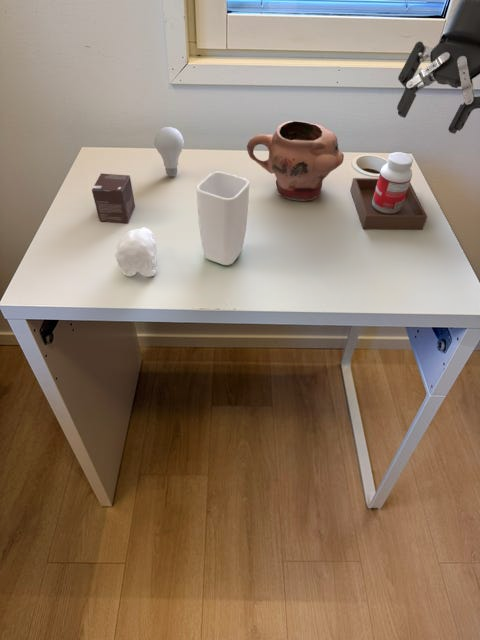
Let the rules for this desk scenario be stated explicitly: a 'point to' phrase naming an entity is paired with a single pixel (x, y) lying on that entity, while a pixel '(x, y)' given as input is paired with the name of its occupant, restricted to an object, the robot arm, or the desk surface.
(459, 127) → the robot arm
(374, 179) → the tray
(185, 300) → the desk surface
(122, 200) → the box
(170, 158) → the lightbulb
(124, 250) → the white lumpy curved piece
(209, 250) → the cup
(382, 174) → the pill bottle
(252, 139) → the pink face mug
